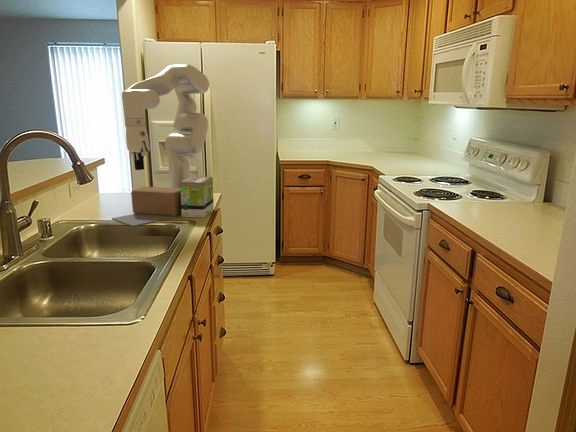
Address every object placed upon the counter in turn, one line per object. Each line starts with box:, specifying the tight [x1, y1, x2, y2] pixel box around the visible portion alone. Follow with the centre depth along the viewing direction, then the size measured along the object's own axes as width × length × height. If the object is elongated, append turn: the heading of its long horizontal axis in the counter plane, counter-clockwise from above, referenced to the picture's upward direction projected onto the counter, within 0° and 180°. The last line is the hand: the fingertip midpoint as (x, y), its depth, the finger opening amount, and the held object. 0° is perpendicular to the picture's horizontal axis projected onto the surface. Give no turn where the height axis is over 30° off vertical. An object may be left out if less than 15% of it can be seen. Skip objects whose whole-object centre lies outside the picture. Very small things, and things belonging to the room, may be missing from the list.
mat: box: [111, 213, 182, 227], centre depth 177 cm, size 22×16×1 cm
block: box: [130, 186, 182, 216], centre depth 182 cm, size 10×10×20 cm
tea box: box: [180, 176, 215, 219], centre depth 182 cm, size 15×10×15 cm, turn 175°
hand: (139, 169), depth 175 cm, fingers closed
